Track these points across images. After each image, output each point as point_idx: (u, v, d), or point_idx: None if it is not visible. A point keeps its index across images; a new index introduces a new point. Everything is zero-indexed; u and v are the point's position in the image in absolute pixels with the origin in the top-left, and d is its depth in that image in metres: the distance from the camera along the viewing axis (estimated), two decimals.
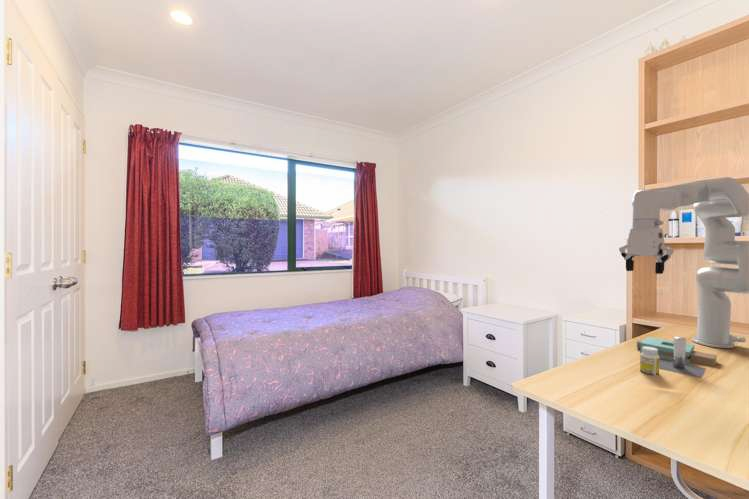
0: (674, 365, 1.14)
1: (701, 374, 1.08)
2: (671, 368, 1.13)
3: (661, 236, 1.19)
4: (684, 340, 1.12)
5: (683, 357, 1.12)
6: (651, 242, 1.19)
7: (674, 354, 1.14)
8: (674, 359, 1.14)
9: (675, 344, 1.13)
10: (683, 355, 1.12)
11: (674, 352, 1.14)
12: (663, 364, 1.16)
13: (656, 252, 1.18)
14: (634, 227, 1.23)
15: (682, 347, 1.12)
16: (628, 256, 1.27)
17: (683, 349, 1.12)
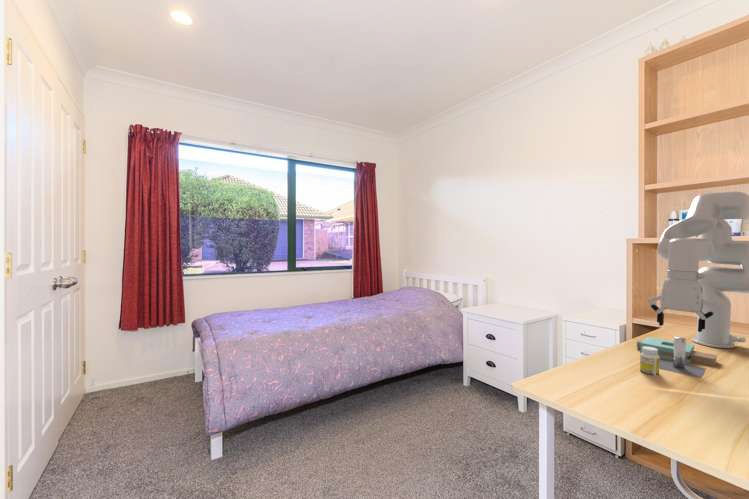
0: (674, 365, 1.14)
1: (701, 374, 1.08)
2: (671, 368, 1.13)
3: (701, 290, 1.10)
4: (684, 340, 1.12)
5: (683, 357, 1.12)
6: (694, 297, 1.09)
7: (674, 354, 1.14)
8: (674, 359, 1.14)
9: (675, 344, 1.13)
10: (683, 355, 1.12)
11: (674, 352, 1.14)
12: (663, 364, 1.16)
13: (700, 308, 1.08)
14: (673, 279, 1.11)
15: (682, 347, 1.12)
16: (661, 309, 1.15)
17: (683, 349, 1.12)
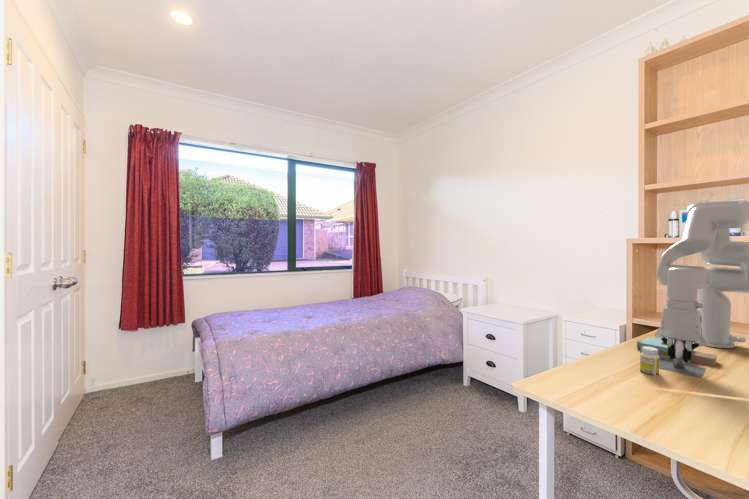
0: (674, 365, 1.14)
1: (701, 374, 1.08)
2: (671, 368, 1.13)
3: (700, 319, 1.10)
4: None
5: (683, 357, 1.12)
6: (693, 327, 1.09)
7: (674, 354, 1.14)
8: (674, 359, 1.14)
9: (675, 344, 1.13)
10: (683, 355, 1.12)
11: (674, 352, 1.14)
12: (663, 364, 1.16)
13: (699, 338, 1.08)
14: (672, 308, 1.12)
15: (682, 347, 1.12)
16: (670, 341, 1.14)
17: (683, 349, 1.12)
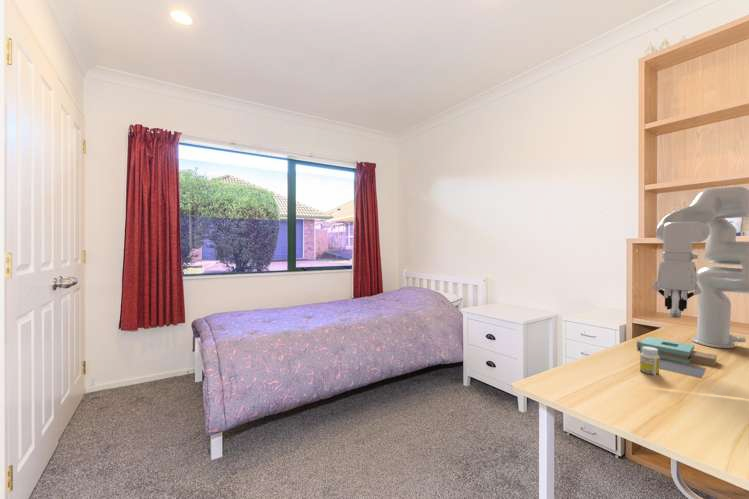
0: (671, 315, 1.20)
1: (701, 374, 1.08)
2: (671, 368, 1.13)
3: None
4: None
5: (679, 306, 1.19)
6: (688, 277, 1.16)
7: (671, 304, 1.20)
8: (671, 309, 1.20)
9: (671, 295, 1.20)
10: (679, 304, 1.19)
11: (671, 302, 1.20)
12: (663, 364, 1.16)
13: (694, 287, 1.15)
14: (669, 260, 1.19)
15: (678, 297, 1.19)
16: (666, 293, 1.21)
17: (679, 299, 1.19)
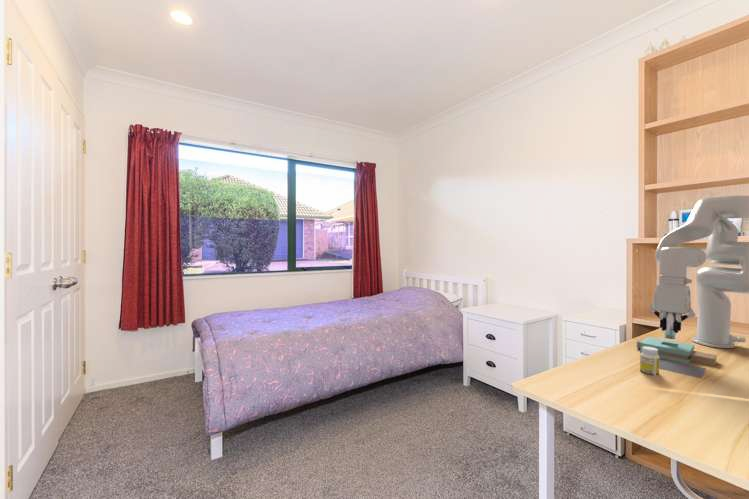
0: (665, 336, 1.26)
1: (701, 374, 1.08)
2: (671, 368, 1.13)
3: (689, 294, 1.22)
4: (674, 313, 1.24)
5: (673, 328, 1.24)
6: (682, 300, 1.21)
7: (665, 326, 1.26)
8: (665, 330, 1.26)
9: (666, 316, 1.25)
10: (673, 326, 1.24)
11: (665, 324, 1.26)
12: (663, 364, 1.16)
13: (687, 310, 1.20)
14: (664, 284, 1.24)
15: (673, 319, 1.24)
16: (662, 314, 1.26)
17: (673, 321, 1.24)
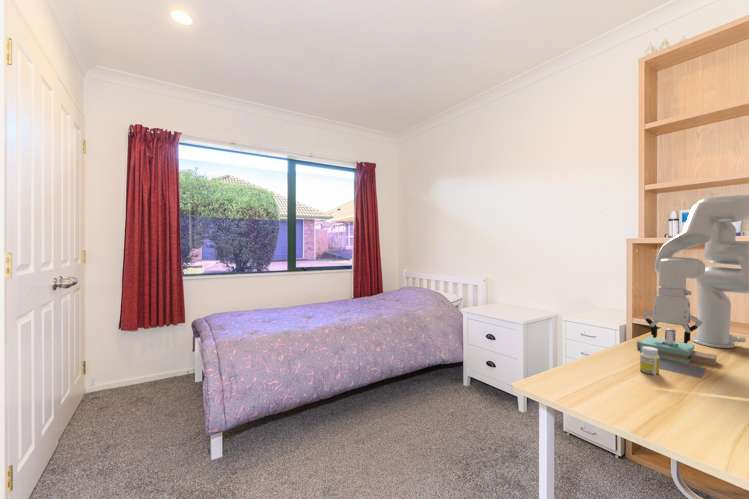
0: None
1: (701, 374, 1.08)
2: (671, 368, 1.13)
3: (688, 305, 1.22)
4: (674, 331, 1.24)
5: None
6: (682, 312, 1.21)
7: (665, 344, 1.26)
8: None
9: (666, 335, 1.26)
10: (673, 345, 1.24)
11: (665, 342, 1.26)
12: (663, 364, 1.16)
13: (687, 322, 1.21)
14: (664, 295, 1.24)
15: (672, 338, 1.24)
16: (654, 323, 1.28)
17: (673, 339, 1.24)
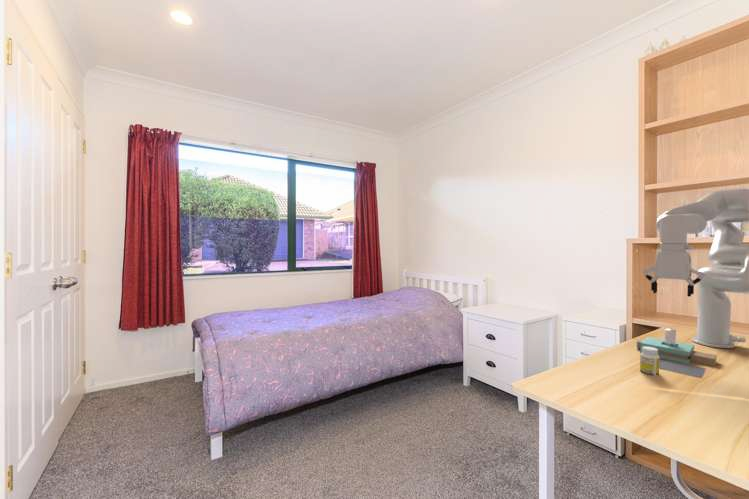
0: None
1: (701, 374, 1.08)
2: (671, 368, 1.13)
3: None
4: (674, 331, 1.24)
5: None
6: (683, 266, 1.22)
7: (665, 344, 1.26)
8: None
9: (666, 335, 1.26)
10: (673, 345, 1.24)
11: (665, 342, 1.26)
12: (663, 364, 1.16)
13: (689, 276, 1.22)
14: (665, 251, 1.25)
15: (672, 338, 1.24)
16: (655, 279, 1.29)
17: (673, 339, 1.24)
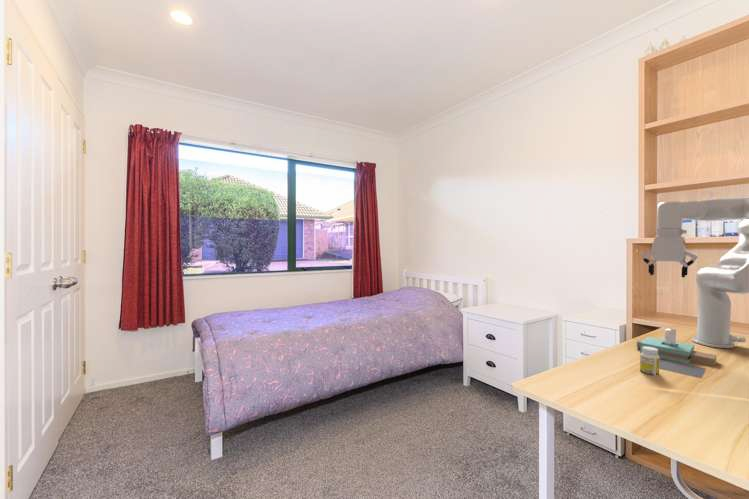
0: None
1: (701, 374, 1.08)
2: (671, 368, 1.13)
3: (684, 243, 1.33)
4: (674, 331, 1.24)
5: None
6: (678, 249, 1.32)
7: (665, 344, 1.26)
8: None
9: (666, 335, 1.26)
10: (673, 345, 1.24)
11: (665, 342, 1.26)
12: (663, 364, 1.16)
13: (683, 258, 1.32)
14: (661, 235, 1.35)
15: (672, 338, 1.24)
16: (652, 261, 1.39)
17: (673, 339, 1.24)
